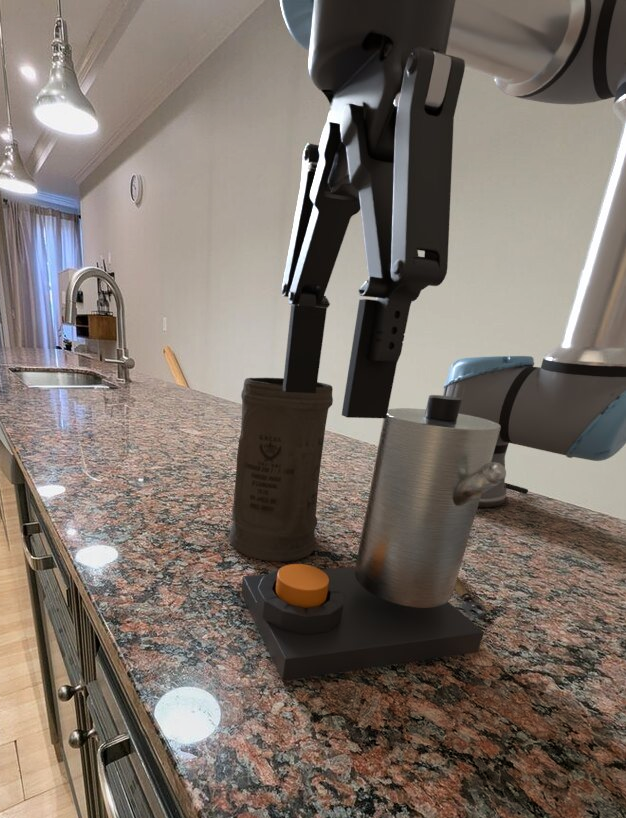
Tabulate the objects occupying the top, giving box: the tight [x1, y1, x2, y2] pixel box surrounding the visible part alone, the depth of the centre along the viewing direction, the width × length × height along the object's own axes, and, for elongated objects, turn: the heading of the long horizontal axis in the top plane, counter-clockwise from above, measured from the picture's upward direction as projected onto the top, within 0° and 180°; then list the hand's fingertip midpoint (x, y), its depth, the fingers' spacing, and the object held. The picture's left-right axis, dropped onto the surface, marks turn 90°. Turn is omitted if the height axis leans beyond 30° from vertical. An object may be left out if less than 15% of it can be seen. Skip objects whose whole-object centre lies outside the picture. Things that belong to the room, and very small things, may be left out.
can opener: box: [454, 576, 486, 623], centre depth 47 cm, size 9×2×1 cm, turn 171°
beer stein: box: [228, 377, 334, 563], centre depth 54 cm, size 15×11×20 cm
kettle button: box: [276, 563, 329, 608], centre depth 38 cm, size 4×4×2 cm
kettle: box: [354, 394, 507, 608], centre depth 38 cm, size 9×14×17 cm, turn 15°
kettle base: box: [240, 566, 485, 682], centre depth 41 cm, size 18×12×4 cm, turn 105°
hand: (326, 402), depth 32 cm, fingers open, 10 cm apart
